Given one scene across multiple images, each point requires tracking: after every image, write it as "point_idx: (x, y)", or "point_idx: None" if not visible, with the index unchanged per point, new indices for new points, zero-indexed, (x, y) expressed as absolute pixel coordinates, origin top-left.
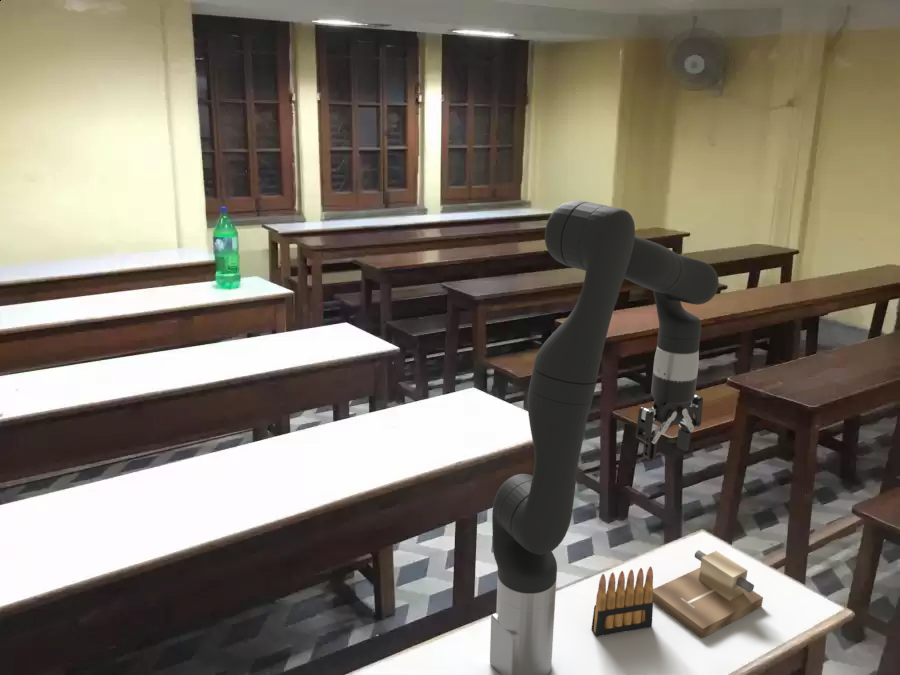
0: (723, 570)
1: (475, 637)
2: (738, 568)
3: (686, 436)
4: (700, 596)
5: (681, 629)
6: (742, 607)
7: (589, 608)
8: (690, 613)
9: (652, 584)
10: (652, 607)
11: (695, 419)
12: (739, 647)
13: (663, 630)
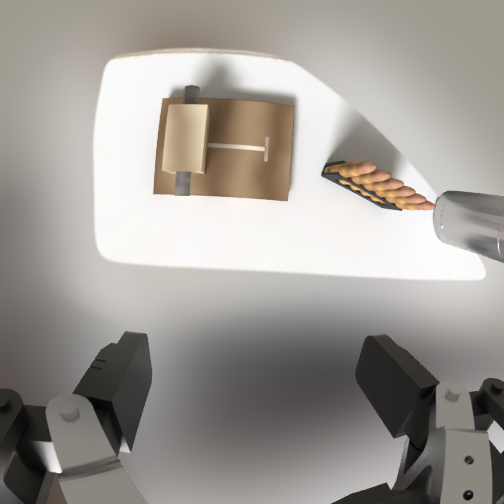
0: (203, 125)
1: (451, 269)
2: (176, 115)
3: (121, 389)
4: (237, 146)
5: (298, 135)
6: (208, 98)
7: (359, 236)
8: (282, 133)
9: (357, 162)
10: (339, 161)
11: (11, 447)
12: (263, 75)
13: (318, 149)
